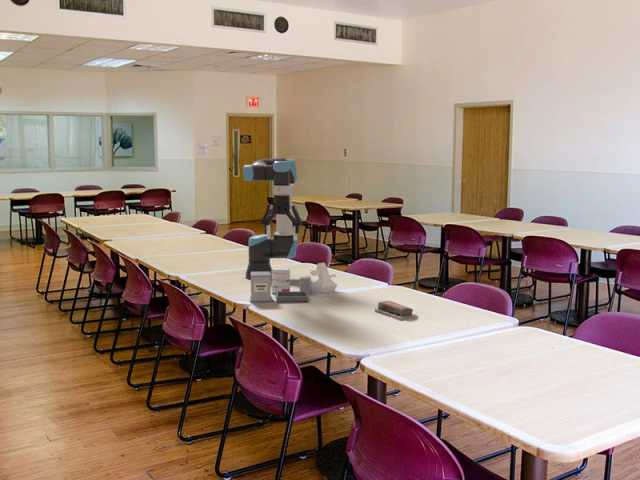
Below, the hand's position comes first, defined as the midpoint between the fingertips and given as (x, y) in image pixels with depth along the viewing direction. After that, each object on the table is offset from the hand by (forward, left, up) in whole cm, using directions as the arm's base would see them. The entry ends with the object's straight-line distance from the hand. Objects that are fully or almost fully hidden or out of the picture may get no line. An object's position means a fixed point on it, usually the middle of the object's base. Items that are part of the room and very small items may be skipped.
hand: (281, 239), depth 310 cm
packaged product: (+38, +47, -28) cm, 66 cm away
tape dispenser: (-11, +22, -28) cm, 37 cm away
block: (-9, +12, -28) cm, 31 cm away
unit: (+6, -10, -28) cm, 30 cm away
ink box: (-9, 0, -28) cm, 29 cm away
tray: (+6, +4, -28) cm, 28 cm away
